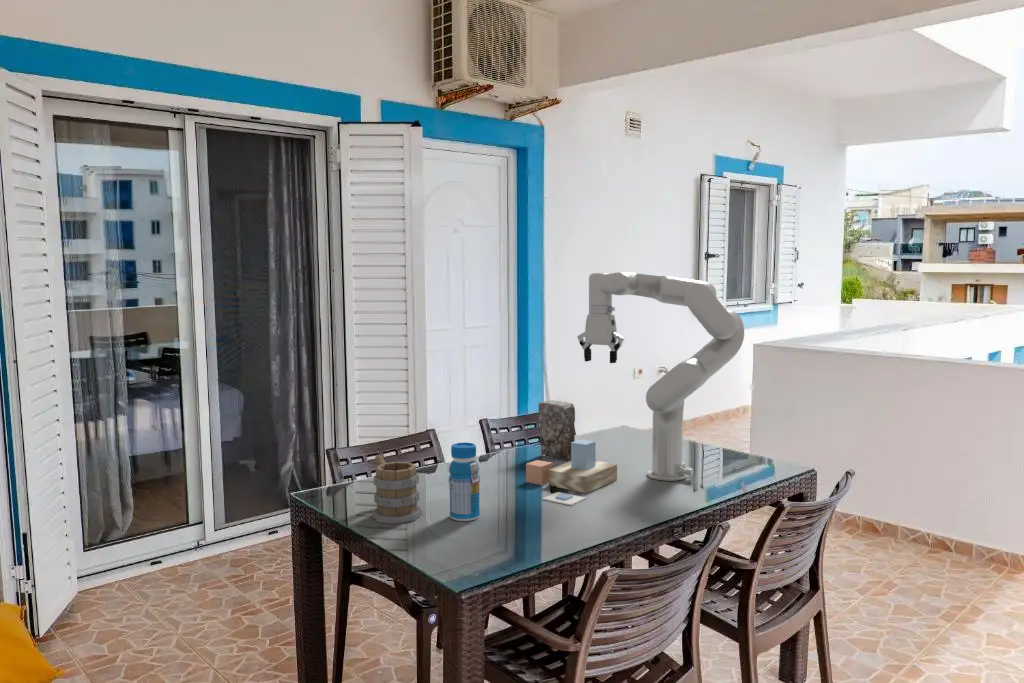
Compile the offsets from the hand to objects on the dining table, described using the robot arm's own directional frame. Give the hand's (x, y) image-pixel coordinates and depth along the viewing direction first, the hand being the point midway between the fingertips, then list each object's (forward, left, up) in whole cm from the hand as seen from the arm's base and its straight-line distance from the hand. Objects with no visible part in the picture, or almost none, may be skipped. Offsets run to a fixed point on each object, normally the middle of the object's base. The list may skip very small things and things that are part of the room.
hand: (600, 361), depth 248 cm
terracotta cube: (+8, +24, -36) cm, 44 cm away
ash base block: (-4, +17, -36) cm, 40 cm away
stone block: (+21, -5, -36) cm, 42 cm away
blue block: (-4, +17, -31) cm, 36 cm away
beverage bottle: (+4, +64, -36) cm, 74 cm away
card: (-9, +35, -36) cm, 51 cm away
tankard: (+23, +73, -37) cm, 85 cm away
